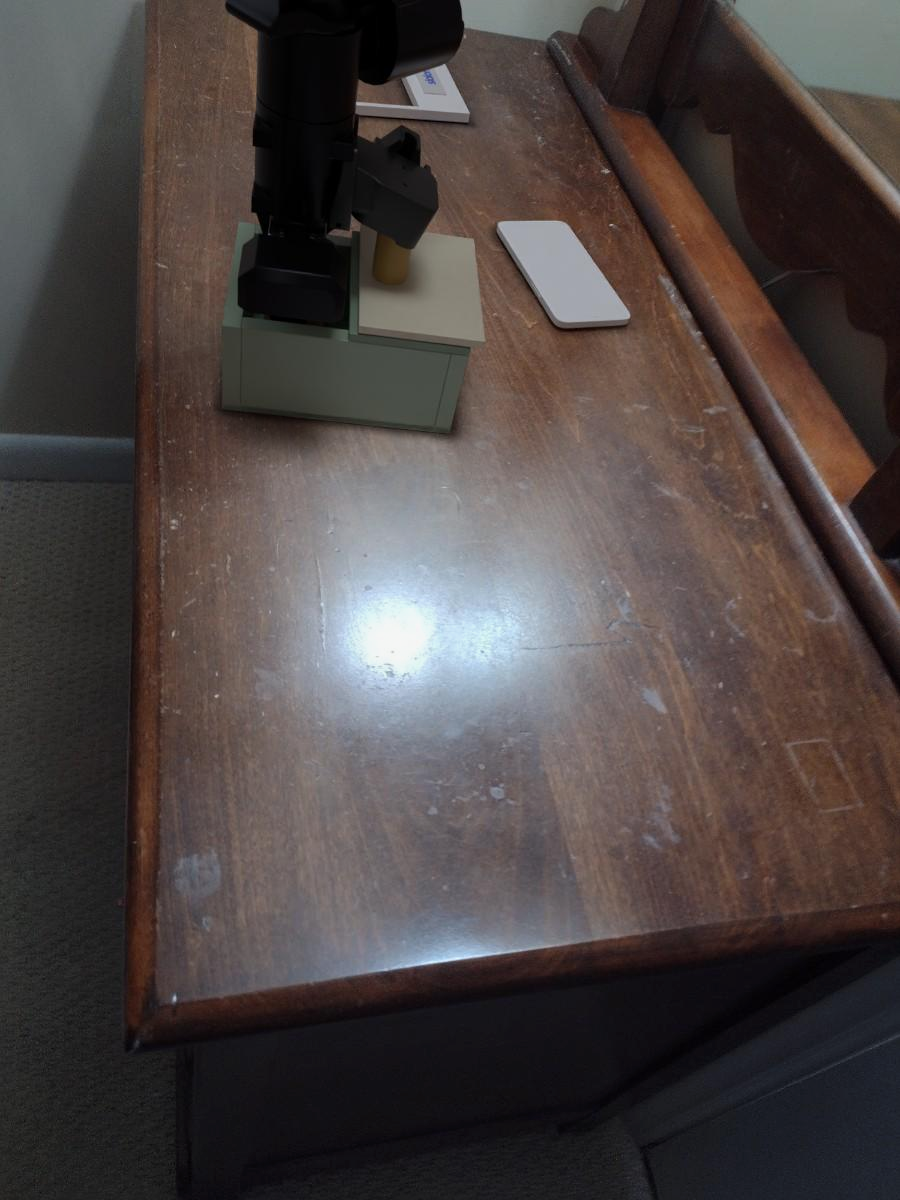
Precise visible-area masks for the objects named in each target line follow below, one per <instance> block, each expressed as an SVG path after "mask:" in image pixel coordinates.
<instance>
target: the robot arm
mask: <svg viewBox="0 0 900 1200" xmlns="http://www.w3.org/2000/svg"><path fill="white" fill-rule="evenodd" d="M224 8H225V10H226V12H227V14H229V15H231V16H232V17H234V18H236V19H237V20H239V21H241V22H242V23H243V24H245V25H247V26H249V27H251V29H253V30H256V32H257V44H256V45H257V46H256V47H257V48H256V49H257V50H256V88H255V89H256V90H255V92H256V94H255V95H256V96H255V113H254V120H253V125H252V143H251V144H252V145H251V146H252V147H253V148H254V174H253V175H254V177H253V184H252V190H251V196H250V197H251V198H250V199H251V200H250V213H251V214H256V217H257V221H258V224H260V227H261V230H262V233H263V234H260V233H259V234H257V235H256V236H254V237H253V238H252V239H250V240H249V241H248V242H246V243H245V244H243V247H242V253H241V260H240V266H239V273H238V297H237V305H238V306H239V307H240V308H242V309H243V310H244V311H245V312H249V313H257V314H264V315H269V317H270V319H271V320H272V321H280V322H288V323H296V324H304V325H306V323H307V320H311V321H319V322H327V323H335V322H337V321H339V320H342V319H343V315H344V306H345V297H346V279H347V259H346V258H345V257H344V256H343V254H342V253H341V252H340V251H339V250H338V249H337V248H336V244H335V243H334V242H333V241H331V240H329V239H327V238H326V235H327V234H330V233H332V232H333V231H334V230H339V231H346V232H350V230H351V222H352V217H353V219H354V220H356V221H357V222H358V223H360V225H361V224H363V225H365V226H367V227H369V228H371V229H373V230H375V231H377V232H379V233H381V234H383V235H385V236H387V237H389V238H391V239H393V240H394V241H395V243H396V245H398V246H400V247H402V248H404V249H409V250H411V249H414V248H415V246H416V245H417V243H418V242H419V240H420V238H421V237H422V235H423V233H424V232H426V230H427V228H428V227H429V225H430V224H431V222H432V221H433V218H434V217H435V215H436V213H437V212H438V211H439V208H440V204H439V203H440V202H439V191H438V190H439V189H438V181H437V179H436V177H435V176H434V174H433V173H432V166H431V165H429V164H427V163H425V164H424V166H422V165H421V160H422V159H421V157H422V143H421V135H420V133H417V132H416V131H413V130H412V129H410V128H408V127H407V126H405V125H403V124H400V125H398V126H397V127H396V128H394V129H393V130H391V131H390V132H389V133H387V134H386V135H384V136H382V137H381V138H380V137H378V136H375V138H374V139H373V141H371V140H369V139H367V138H365V137H362V136H361V135H358V133H359V124H360V115H359V114H355V112H356V102H358V93H359V92H358V91H359V83H360V82H359V81H361V82H362V83H364V84H366V85H370V86H373V87H374V86H383V85H386V84H389V83H392V82H395V81H398V80H402V78H405V77H408V76H411V75H414V74H417V73H420V72H423V71H427V70H430V69H433V68H436V67H439V66H442V65H444V64H445V65H446V64H447V63H449V62H450V61H451V60H452V59H453V58H454V57H455V56H456V54H457V52H458V51H459V49H460V47H461V45H462V40H463V38H464V33H465V22H464V19H463V9H462V3H461V0H225V3H224Z"/></svg>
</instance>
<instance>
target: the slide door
mask: <svg viewBox="0 0 900 1200" xmlns="http://www.w3.org/2000/svg"><path fill="white" fill-rule="evenodd" d="M359 231H360V251H359V300H358V333H363V334H371V335H379V336H387V337H395V338H403V339H411V340H419V341H426V342H434V343H442V344H450V345H458V346H466V347H471V348H475V349H482V350H483V349H484V348H485V345H486V335H485V325H484V315H483V309H482V308H483V307H482V300H481V290H480V282H479V273H478V272H479V271H478V264H477V255H476V248H475V247H476V246H475V239H474V238H469V237H463V236H456V235H455V236H454V235H448V234H442V233H436V232H428V231H425V232H424V233H423V235H422V237H421V238H420V240H419V242H418V243H417V245H416V246H415V248H414V249H411V250H409V249H404V248H402V247H400V246H398V245H396V243H395V241H394V240H393V239H391V238H389V237H387V236H385V235H383V234H381V233H379V232H377V231H375V230H373V229H371V228H369V227H367V226H365V225H363V224H361V223H360V226H359Z"/></svg>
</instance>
